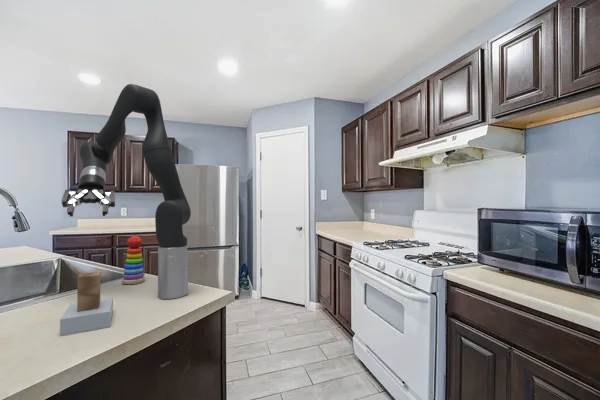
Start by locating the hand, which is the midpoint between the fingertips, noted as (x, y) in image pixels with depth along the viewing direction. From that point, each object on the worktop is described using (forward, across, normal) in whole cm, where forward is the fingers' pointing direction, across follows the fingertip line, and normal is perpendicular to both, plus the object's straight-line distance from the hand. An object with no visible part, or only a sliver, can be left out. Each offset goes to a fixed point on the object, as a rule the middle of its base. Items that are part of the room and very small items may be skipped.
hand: (87, 214), depth 90 cm
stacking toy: (+7, +13, +33) cm, 36 cm away
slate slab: (+33, +3, +7) cm, 34 cm away
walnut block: (+30, +3, +4) cm, 31 cm away
